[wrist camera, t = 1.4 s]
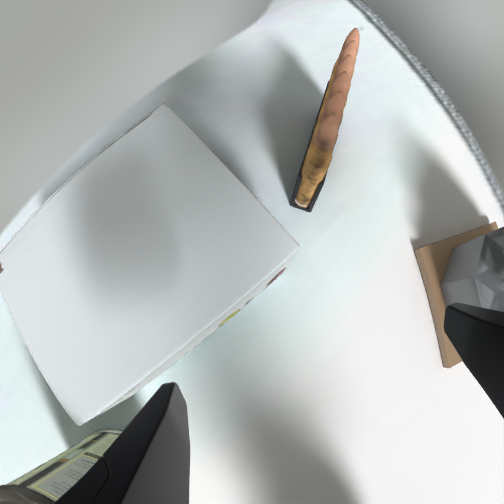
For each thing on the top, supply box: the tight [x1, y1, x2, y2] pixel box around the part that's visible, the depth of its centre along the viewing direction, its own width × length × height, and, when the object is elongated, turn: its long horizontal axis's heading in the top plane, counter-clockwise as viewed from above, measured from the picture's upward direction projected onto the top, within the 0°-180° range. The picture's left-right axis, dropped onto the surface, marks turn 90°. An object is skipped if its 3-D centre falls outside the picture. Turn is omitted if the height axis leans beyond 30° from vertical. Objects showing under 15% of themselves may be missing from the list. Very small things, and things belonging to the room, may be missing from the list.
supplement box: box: [0, 103, 299, 426], centre depth 20 cm, size 17×13×9 cm
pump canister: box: [414, 222, 504, 368], centre depth 21 cm, size 11×11×6 cm
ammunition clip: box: [290, 28, 359, 212], centre depth 21 cm, size 11×2×12 cm, turn 161°
